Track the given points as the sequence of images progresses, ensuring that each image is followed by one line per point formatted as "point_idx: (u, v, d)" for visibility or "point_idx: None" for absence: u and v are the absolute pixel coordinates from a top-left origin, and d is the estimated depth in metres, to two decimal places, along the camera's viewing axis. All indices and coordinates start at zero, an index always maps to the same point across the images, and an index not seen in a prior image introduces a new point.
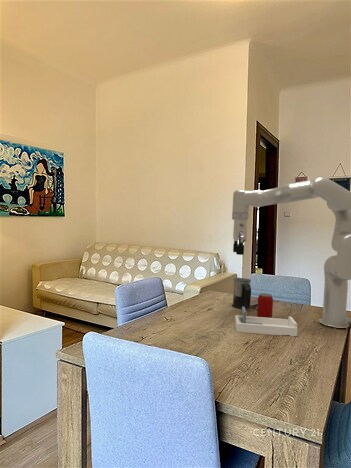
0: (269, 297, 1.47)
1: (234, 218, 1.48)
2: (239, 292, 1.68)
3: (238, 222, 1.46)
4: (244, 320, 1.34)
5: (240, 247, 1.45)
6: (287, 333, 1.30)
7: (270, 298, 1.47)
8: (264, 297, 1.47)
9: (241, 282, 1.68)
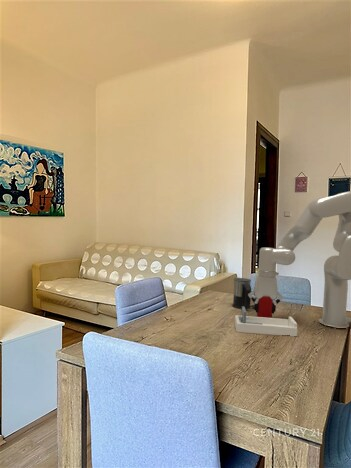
0: (269, 297, 1.47)
1: (272, 277, 1.46)
2: (239, 292, 1.68)
3: (276, 281, 1.47)
4: (244, 320, 1.34)
5: None
6: (287, 333, 1.30)
7: (270, 298, 1.47)
8: (264, 297, 1.47)
9: (241, 282, 1.68)
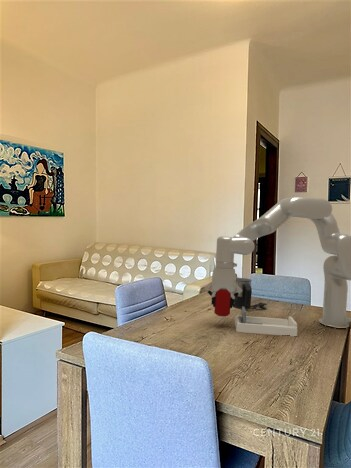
0: (226, 290, 1.36)
1: (229, 268, 1.35)
2: None
3: (234, 272, 1.36)
4: (244, 320, 1.34)
5: (233, 299, 1.38)
6: (287, 333, 1.30)
7: (227, 291, 1.36)
8: (221, 290, 1.36)
9: (242, 282, 1.68)
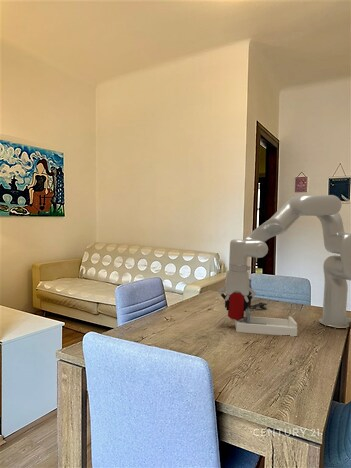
0: (240, 293, 1.35)
1: (243, 272, 1.34)
2: None
3: (248, 275, 1.36)
4: (248, 320, 1.33)
5: (247, 303, 1.37)
6: (287, 333, 1.30)
7: (241, 294, 1.35)
8: (235, 293, 1.35)
9: None
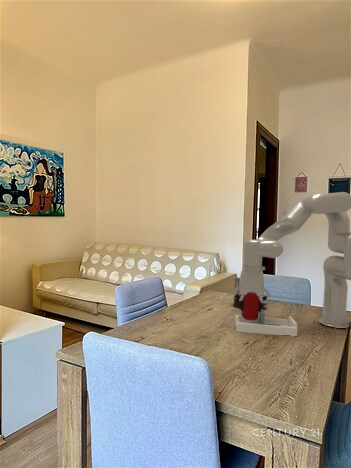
0: (255, 293, 1.35)
1: (258, 272, 1.33)
2: None
3: None
4: (262, 321, 1.33)
5: None
6: (287, 333, 1.30)
7: (256, 294, 1.35)
8: (249, 293, 1.35)
9: None
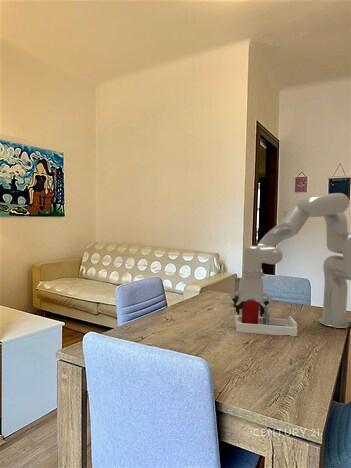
0: (254, 301, 1.35)
1: (257, 278, 1.34)
2: None
3: (262, 282, 1.35)
4: (267, 322, 1.32)
5: None
6: (287, 333, 1.30)
7: (256, 302, 1.35)
8: (249, 301, 1.35)
9: None
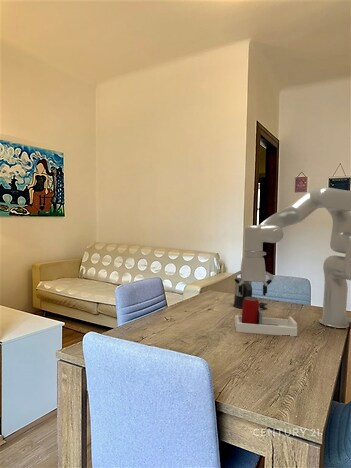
0: (254, 301, 1.35)
1: (259, 257, 1.33)
2: None
3: (264, 261, 1.35)
4: (260, 321, 1.33)
5: (266, 287, 1.36)
6: (287, 333, 1.30)
7: (256, 302, 1.35)
8: (249, 301, 1.35)
9: None
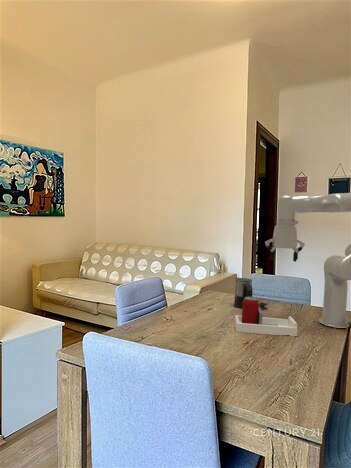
0: (254, 301, 1.35)
1: (292, 225, 1.43)
2: (240, 292, 1.68)
3: None
4: (260, 321, 1.33)
5: None
6: (287, 333, 1.30)
7: (256, 302, 1.35)
8: (249, 301, 1.35)
9: (242, 282, 1.68)
